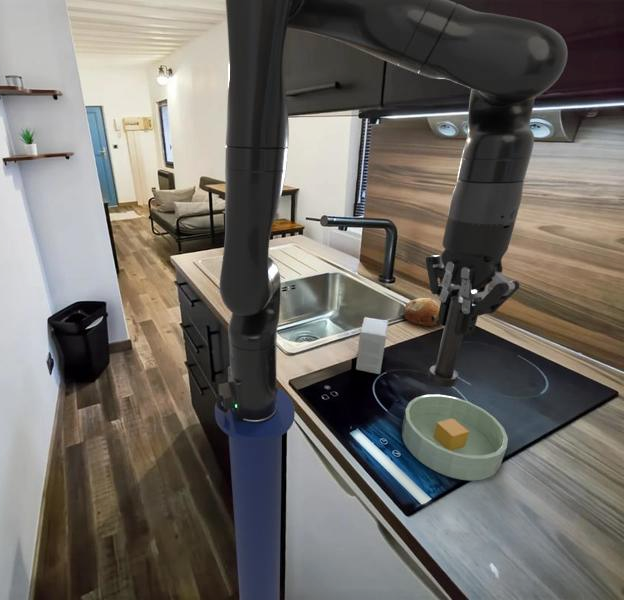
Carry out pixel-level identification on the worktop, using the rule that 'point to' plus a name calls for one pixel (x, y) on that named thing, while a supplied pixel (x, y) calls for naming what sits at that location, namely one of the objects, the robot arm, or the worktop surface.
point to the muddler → (448, 348)
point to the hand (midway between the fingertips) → (454, 328)
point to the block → (451, 434)
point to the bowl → (463, 461)
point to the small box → (371, 345)
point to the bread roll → (422, 312)
